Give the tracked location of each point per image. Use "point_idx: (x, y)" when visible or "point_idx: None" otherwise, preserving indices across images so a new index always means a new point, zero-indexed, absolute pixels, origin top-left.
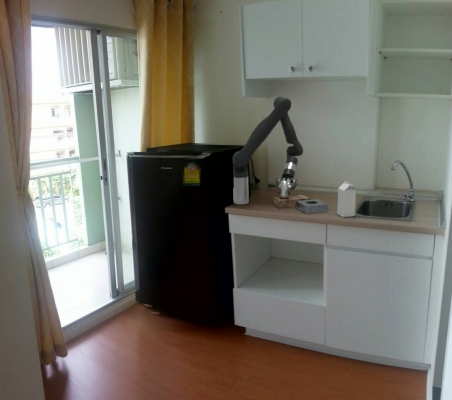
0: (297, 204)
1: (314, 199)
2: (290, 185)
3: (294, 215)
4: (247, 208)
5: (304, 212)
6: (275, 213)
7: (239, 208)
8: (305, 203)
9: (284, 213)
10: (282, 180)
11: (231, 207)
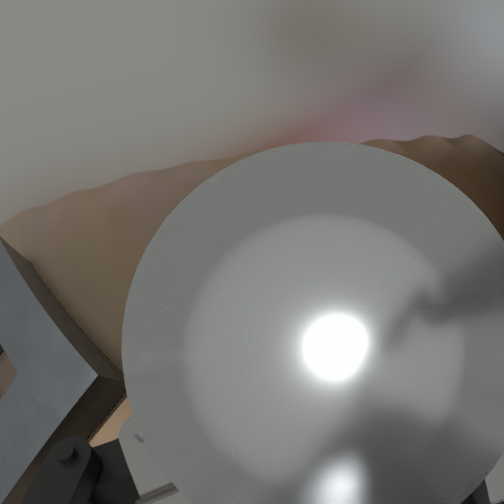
0: (90, 354)
1: (3, 497)
2: (136, 476)
3: (77, 194)
4: (435, 168)
5: (31, 267)
6: (203, 161)
7: (457, 152)
8: (2, 311)
9: (147, 192)
10: (499, 314)
11: (490, 153)
